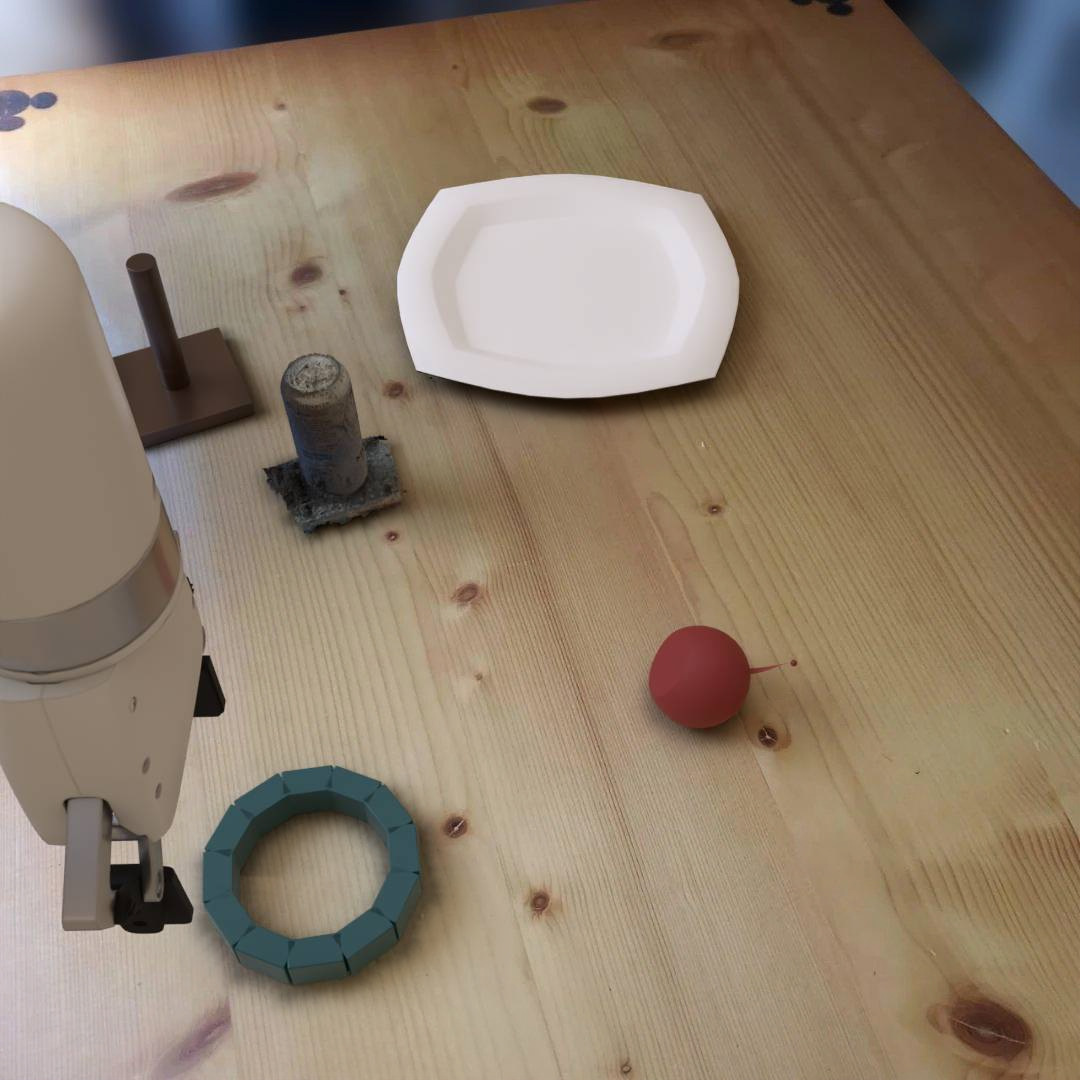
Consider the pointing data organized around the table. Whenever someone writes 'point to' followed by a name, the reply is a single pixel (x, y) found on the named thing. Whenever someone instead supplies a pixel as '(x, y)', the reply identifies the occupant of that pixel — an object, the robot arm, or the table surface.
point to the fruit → (701, 676)
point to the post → (176, 369)
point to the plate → (568, 287)
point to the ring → (267, 811)
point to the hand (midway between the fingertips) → (174, 808)
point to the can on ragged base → (330, 449)
